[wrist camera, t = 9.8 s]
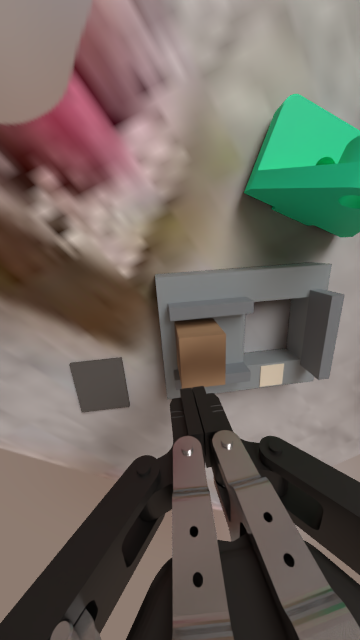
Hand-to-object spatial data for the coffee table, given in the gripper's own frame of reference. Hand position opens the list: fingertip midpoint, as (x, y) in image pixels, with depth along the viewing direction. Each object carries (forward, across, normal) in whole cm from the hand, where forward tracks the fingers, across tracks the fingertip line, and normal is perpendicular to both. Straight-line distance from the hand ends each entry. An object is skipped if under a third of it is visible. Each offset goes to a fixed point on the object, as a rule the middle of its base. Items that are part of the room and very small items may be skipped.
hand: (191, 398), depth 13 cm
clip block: (+7, -2, +1) cm, 8 cm away
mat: (+13, +10, +6) cm, 17 cm away
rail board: (+13, -7, +1) cm, 15 cm away
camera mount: (+13, -15, -15) cm, 25 cm away
